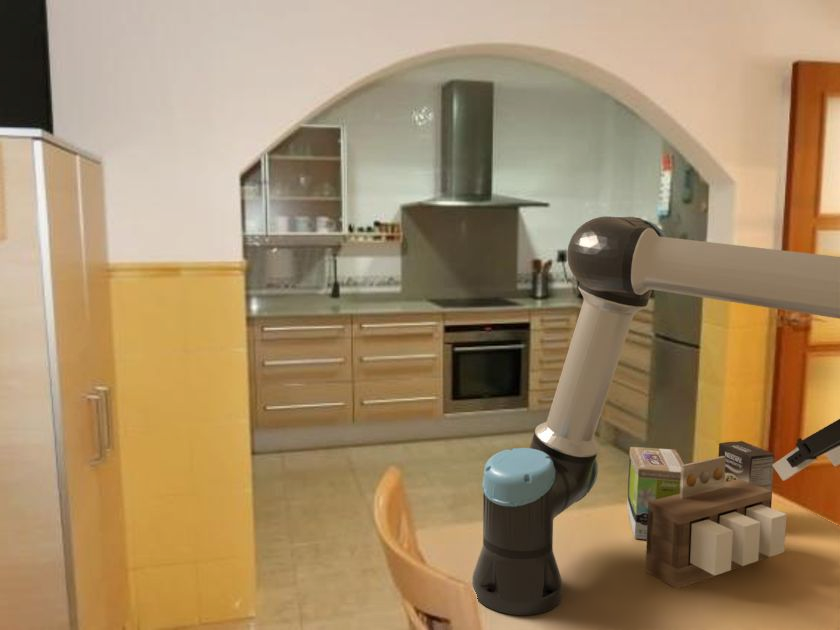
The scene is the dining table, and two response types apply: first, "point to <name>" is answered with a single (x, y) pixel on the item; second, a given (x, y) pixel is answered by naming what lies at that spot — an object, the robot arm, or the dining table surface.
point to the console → (694, 518)
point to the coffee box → (747, 463)
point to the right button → (769, 529)
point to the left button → (711, 547)
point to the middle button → (743, 537)
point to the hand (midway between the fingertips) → (805, 465)
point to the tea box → (650, 482)
